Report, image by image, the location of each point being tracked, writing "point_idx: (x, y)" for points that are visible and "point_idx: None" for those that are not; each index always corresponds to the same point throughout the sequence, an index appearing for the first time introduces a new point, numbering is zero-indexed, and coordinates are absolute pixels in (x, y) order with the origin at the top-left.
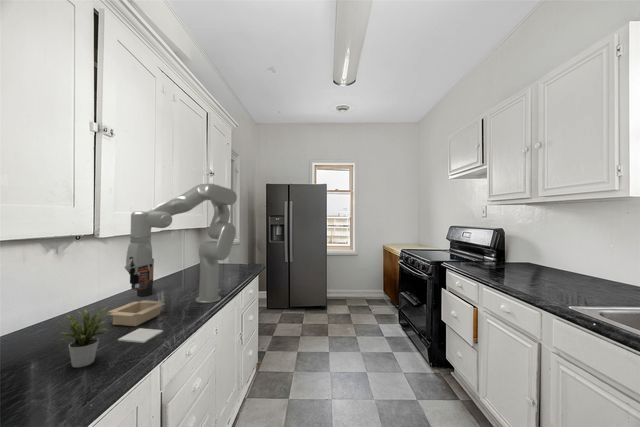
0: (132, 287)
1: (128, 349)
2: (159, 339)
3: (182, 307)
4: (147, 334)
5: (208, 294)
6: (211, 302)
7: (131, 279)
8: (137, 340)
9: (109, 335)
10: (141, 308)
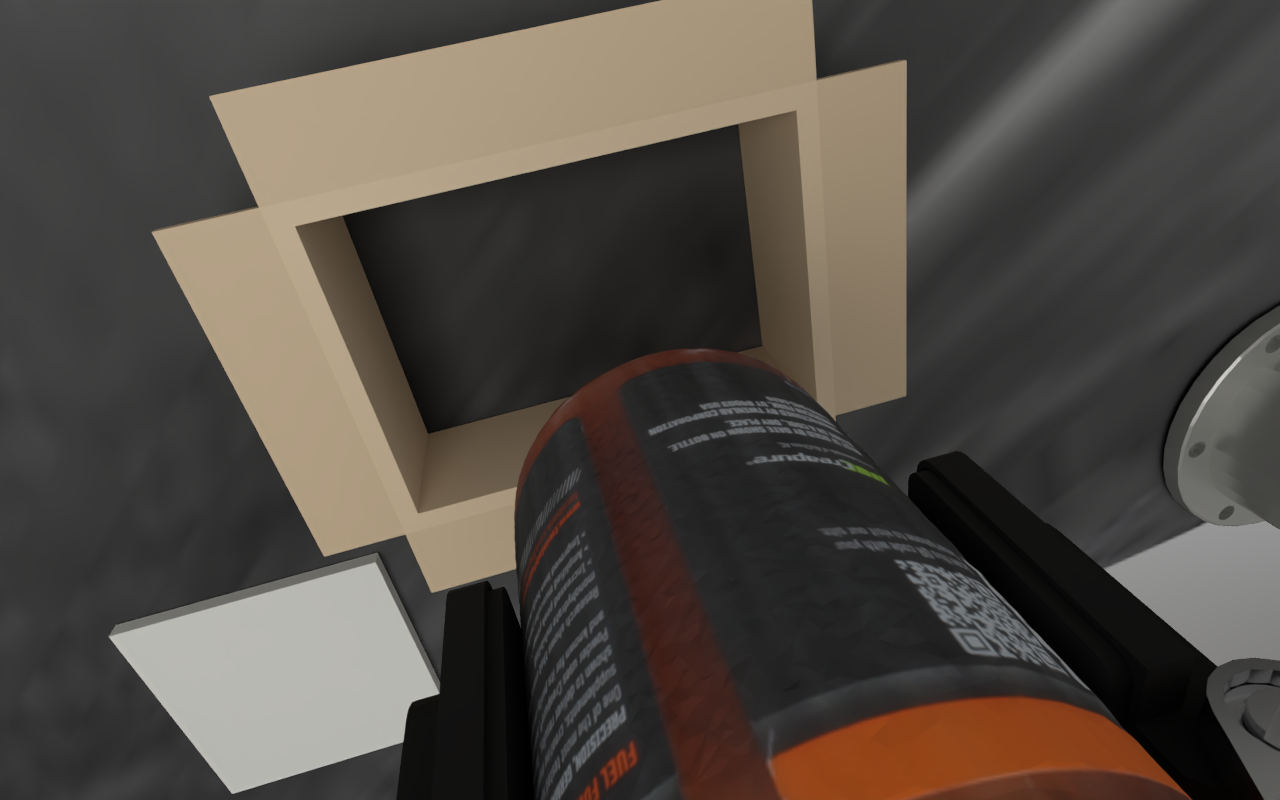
0: (514, 518)
1: (101, 794)
2: (346, 796)
3: (1025, 372)
4: (329, 714)
5: (1272, 516)
6: (1179, 503)
7: (413, 791)
8: (208, 755)
9: (115, 457)
10: (762, 138)
